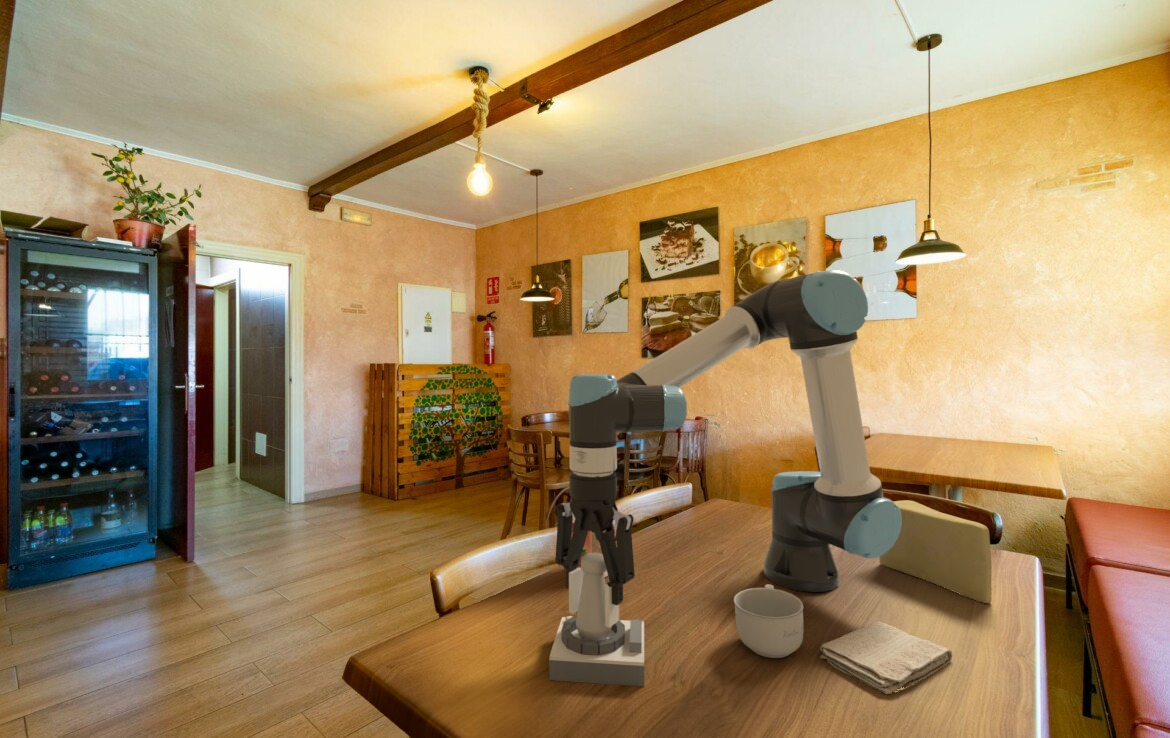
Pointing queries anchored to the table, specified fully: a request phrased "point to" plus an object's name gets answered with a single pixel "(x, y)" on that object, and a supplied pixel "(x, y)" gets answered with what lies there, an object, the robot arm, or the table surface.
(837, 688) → the table surface
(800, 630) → the teacup
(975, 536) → the cheese
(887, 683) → the washcloth
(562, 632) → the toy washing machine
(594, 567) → the bowling pin
